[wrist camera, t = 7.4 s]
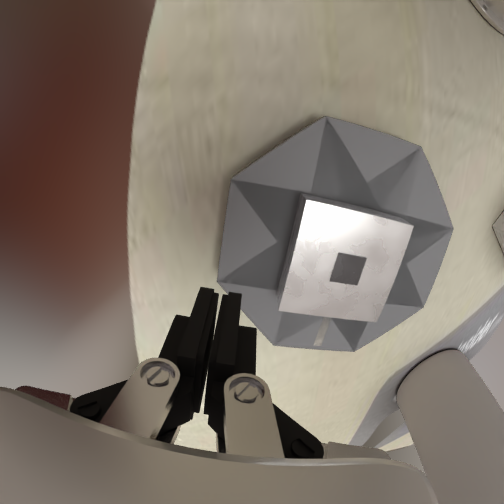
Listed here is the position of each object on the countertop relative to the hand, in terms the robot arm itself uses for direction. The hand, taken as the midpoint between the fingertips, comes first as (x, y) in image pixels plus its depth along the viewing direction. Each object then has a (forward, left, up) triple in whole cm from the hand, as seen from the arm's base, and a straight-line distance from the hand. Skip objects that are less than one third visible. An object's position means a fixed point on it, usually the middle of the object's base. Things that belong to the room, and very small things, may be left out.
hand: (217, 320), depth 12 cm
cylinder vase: (-32, +19, -15) cm, 40 cm away
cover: (-9, +1, -12) cm, 15 cm away
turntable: (-10, +1, -15) cm, 18 cm away
